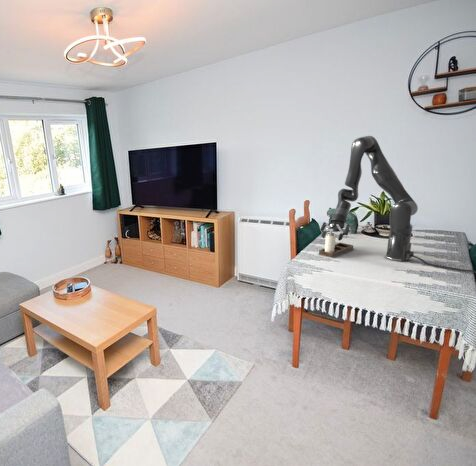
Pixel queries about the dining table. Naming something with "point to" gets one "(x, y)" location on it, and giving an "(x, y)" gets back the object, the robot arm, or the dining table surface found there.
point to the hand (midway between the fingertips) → (331, 238)
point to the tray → (337, 250)
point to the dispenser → (330, 241)
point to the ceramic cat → (347, 220)
